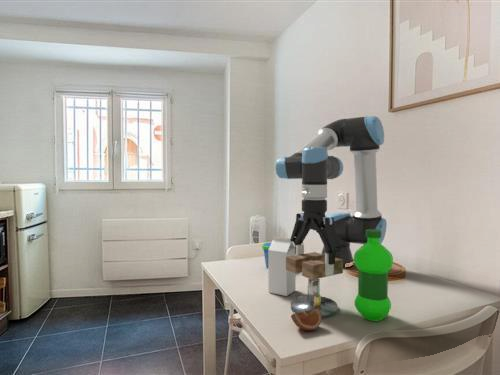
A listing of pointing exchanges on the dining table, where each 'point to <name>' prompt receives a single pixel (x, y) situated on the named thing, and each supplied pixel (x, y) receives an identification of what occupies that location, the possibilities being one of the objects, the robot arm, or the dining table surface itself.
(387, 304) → the plastic bottle
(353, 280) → the dining table surface
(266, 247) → the snack cup
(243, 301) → the dining table surface
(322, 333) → the dining table surface
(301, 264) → the flange block
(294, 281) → the milk carton
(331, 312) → the post base
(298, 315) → the fruit slice
